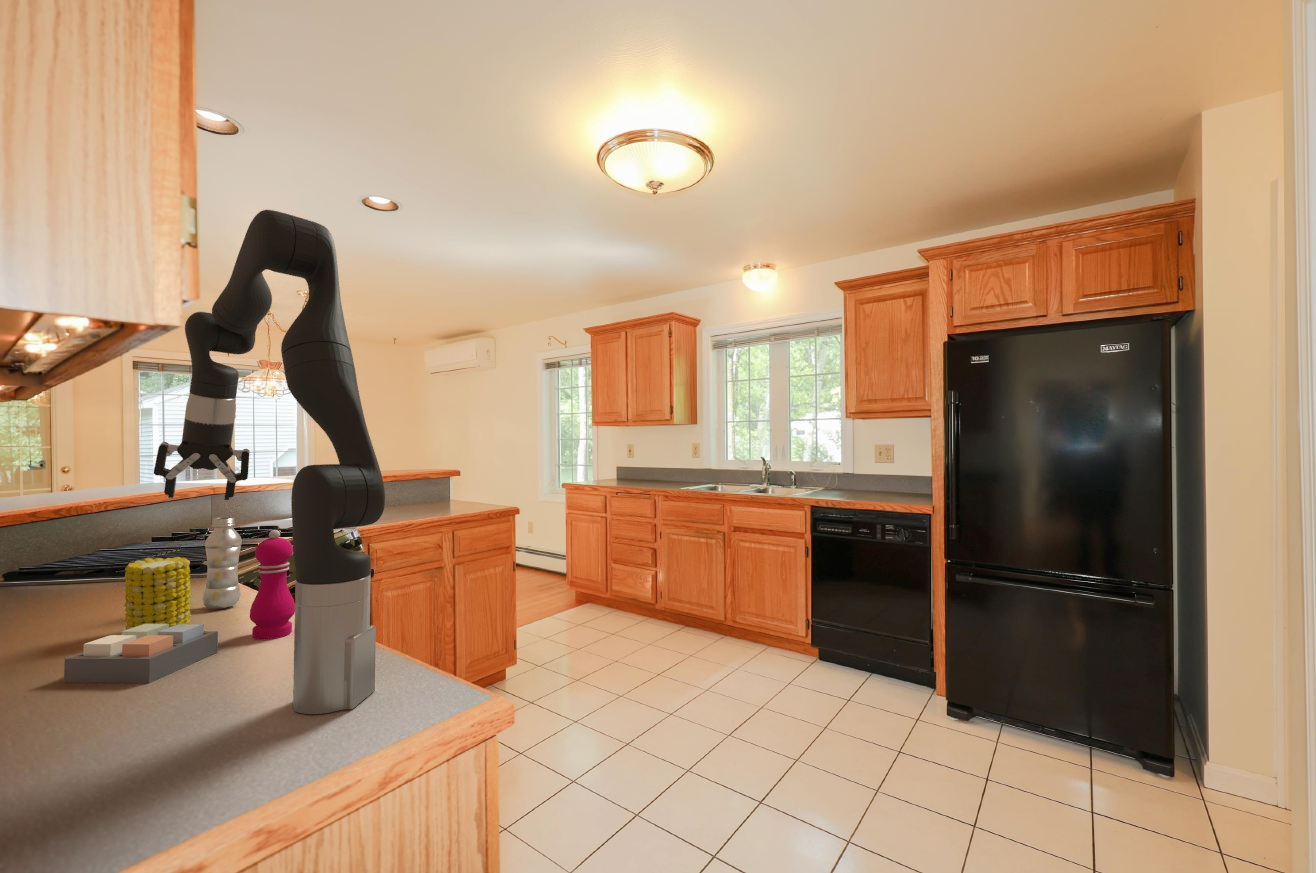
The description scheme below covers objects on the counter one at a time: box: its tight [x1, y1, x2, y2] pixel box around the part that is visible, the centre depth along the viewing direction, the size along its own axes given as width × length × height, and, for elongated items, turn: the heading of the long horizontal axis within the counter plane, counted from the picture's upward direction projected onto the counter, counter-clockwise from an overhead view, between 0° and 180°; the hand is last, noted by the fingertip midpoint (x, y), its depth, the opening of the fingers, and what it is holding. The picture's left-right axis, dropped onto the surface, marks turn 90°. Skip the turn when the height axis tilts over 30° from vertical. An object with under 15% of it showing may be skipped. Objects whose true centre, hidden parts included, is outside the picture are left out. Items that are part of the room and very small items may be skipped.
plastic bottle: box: [202, 517, 243, 610], centre depth 126 cm, size 6×7×20 cm
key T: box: [122, 635, 173, 656], centre depth 88 cm, size 4×4×3 cm
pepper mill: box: [249, 529, 295, 641], centre depth 107 cm, size 7×7×20 cm
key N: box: [83, 634, 136, 656], centre depth 88 cm, size 4×4×3 cm
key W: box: [120, 624, 169, 639], centre depth 94 cm, size 4×4×3 cm
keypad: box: [63, 630, 219, 684], centre depth 91 cm, size 13×13×4 cm
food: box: [123, 556, 192, 630], centre depth 108 cm, size 15×12×10 cm
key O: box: [157, 623, 205, 643], centre depth 94 cm, size 4×4×3 cm
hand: (199, 497), depth 110 cm, fingers open, 8 cm apart
